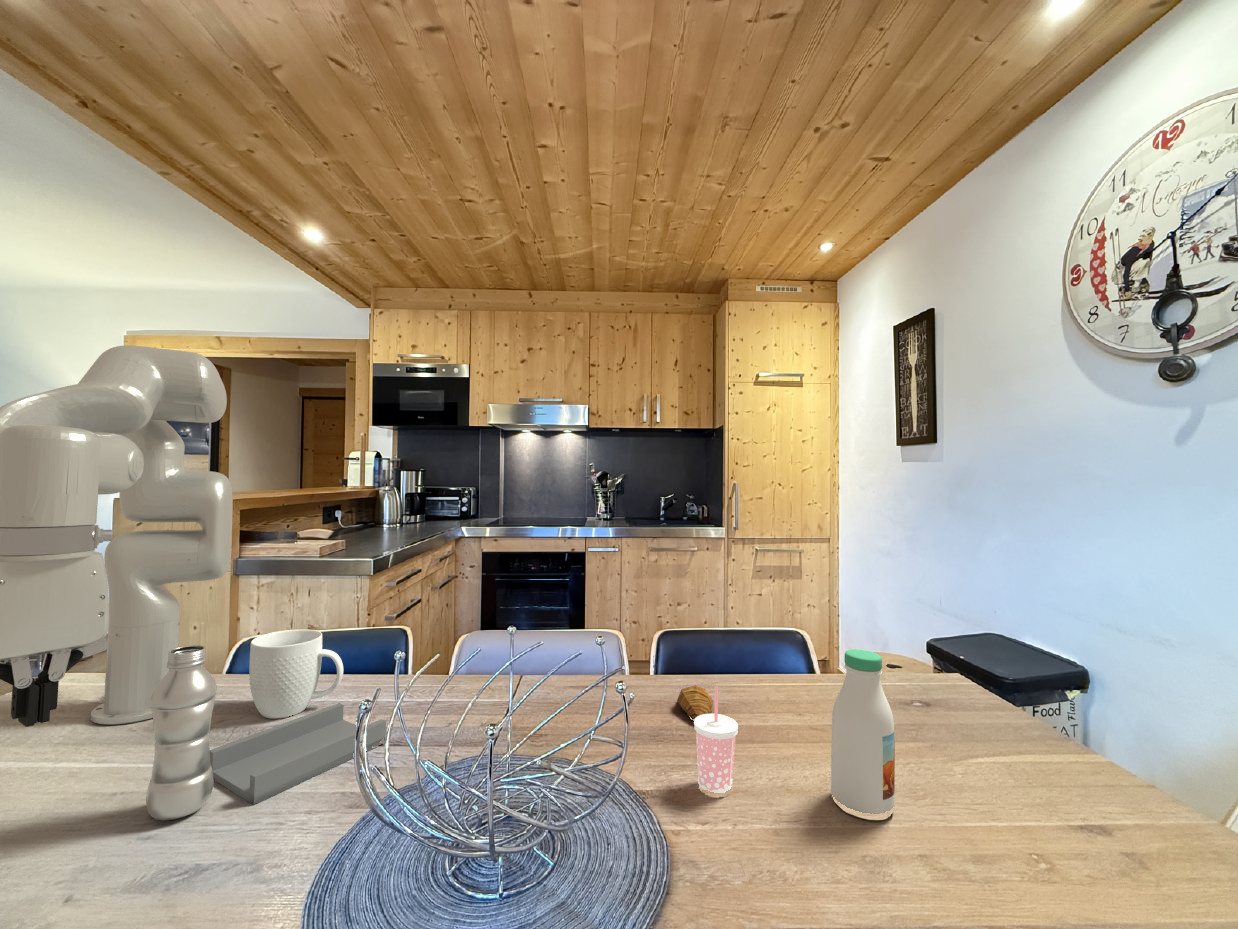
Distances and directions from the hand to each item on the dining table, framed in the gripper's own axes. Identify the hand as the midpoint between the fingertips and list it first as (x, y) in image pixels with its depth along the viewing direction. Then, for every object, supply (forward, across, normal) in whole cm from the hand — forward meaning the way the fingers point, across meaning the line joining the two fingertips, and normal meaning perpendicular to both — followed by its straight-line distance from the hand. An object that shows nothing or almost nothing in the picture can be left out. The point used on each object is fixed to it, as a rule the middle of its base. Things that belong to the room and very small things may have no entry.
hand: (33, 721), depth 55 cm
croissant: (+17, -76, +42) cm, 89 cm away
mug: (+16, -36, -19) cm, 44 cm away
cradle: (+16, -28, -1) cm, 33 cm away
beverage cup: (+17, -54, +54) cm, 79 cm away
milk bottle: (+17, -61, +72) cm, 96 cm away
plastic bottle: (+16, -13, -1) cm, 21 cm away
